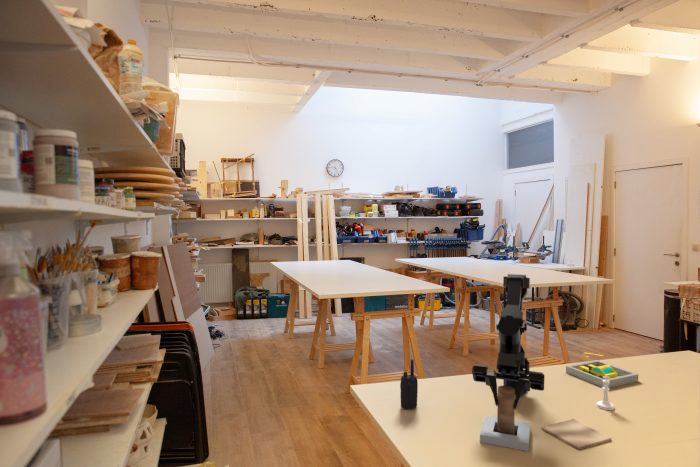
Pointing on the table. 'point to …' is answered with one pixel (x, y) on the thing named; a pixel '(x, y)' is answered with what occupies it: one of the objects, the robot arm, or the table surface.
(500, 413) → the walnut dowel
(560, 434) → the wooden coaster
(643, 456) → the table surface
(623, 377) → the tray
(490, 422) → the holder block
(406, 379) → the two-way radio
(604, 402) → the chess piece
